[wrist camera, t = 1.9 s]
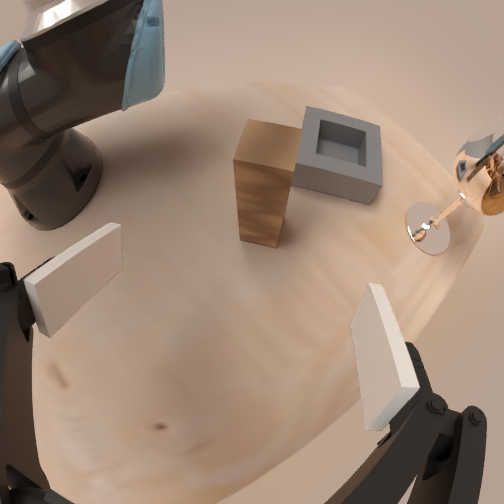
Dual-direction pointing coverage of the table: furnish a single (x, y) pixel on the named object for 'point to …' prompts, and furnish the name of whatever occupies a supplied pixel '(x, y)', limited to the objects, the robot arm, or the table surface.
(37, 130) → the robot arm
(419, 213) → the wineglass
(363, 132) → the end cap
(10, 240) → the table surface
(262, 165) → the wooden block
